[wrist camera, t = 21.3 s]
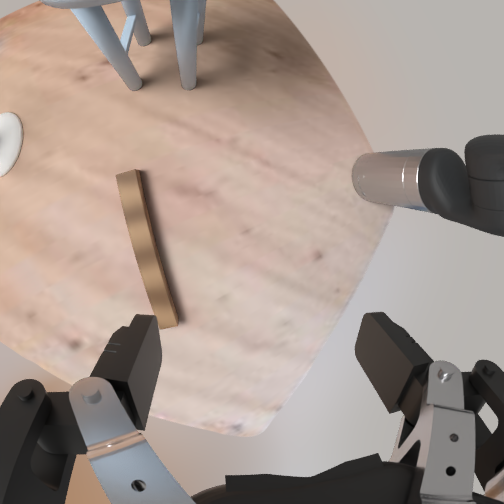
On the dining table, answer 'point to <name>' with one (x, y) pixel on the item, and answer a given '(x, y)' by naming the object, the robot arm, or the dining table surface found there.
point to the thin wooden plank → (146, 248)
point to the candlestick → (9, 141)
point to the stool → (140, 34)
